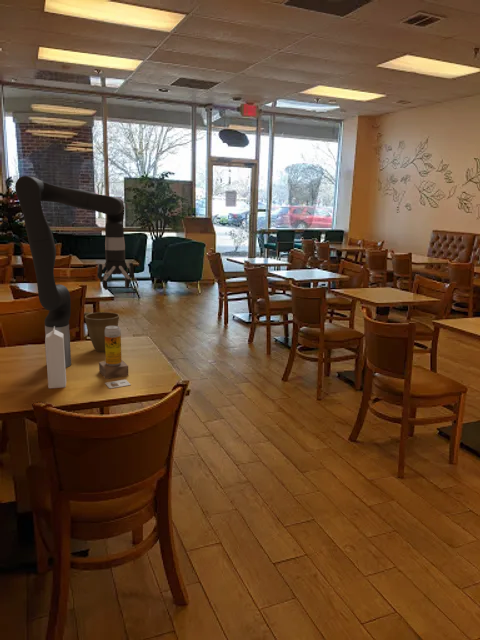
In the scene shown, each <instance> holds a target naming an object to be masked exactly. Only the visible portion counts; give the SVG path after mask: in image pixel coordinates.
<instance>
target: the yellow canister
mask: <svg viewBox="0 0 480 640" xmlns="http://www.w3.org/2000/svg"><path fill="white" fill-rule="evenodd" d="M121 331H122V329H121V327H120V326H119V325H118V326H114V325H113V326H107V327H106V328H105V352H104V354H105V361H106V363H107V365H109V366H117V365H119V364H120V363H121V362H122V360H123V359H122V336H121V335H122V332H121Z"/></svg>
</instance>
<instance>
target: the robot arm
mask: <svg viewBox="0 0 480 640" xmlns="http://www.w3.org/2000/svg"><path fill="white" fill-rule="evenodd" d="M14 187H15V188H14V189H15V193H16V197H17V200H18V202H19V205H20V209H21V211H22V215H23V219H24V226H25V230H26V234H27V242H28V247H29V250H30V254H31V258H32V262H33V267H34V272H35V277H36V278H35V279H36V285H37V294H38V300H39V303H40V305H41V306H42V308H43V309H45V310H47V311H48V314H47V315H46V317H44V318H45V319H44V332H45V336H46V334H48V333H50V332H51V331H53V329H54V326H55V330H57V331H59V332H61V333H63V334H64V350H65V368H67V367H70V366H71V365H72V354H71V353H72V352H71V351H72V350H71V336H70V334H71V333H70V319H71V311H72V309H71V307H72V306H71V305H72V302H71V294H70V290H69V289H68V288H67V286H65V285H63V284H60V283H59V284H56V280H55V274H54V269H55V264H56V258H57V249H56V243H55V238H54V235H53V232H52V229H51V227H50V225H49V223H48V221H47V218H46V217H45V215H44V213H43V212H44V211H43V206H42V202H53V203H58V204H62V205H66V206H70V207H72V208H73V207H74V208H77V209H80V210H81V209H82V210H87V211H93V212H97V213H100V214H105V215H106V223H105V228H104V229H105V232H104V233H105V242H104V245H105V246H104V247H105V249H104V251H105V262H104V263H97V272H96V274H97V275H96V277H97V279H98V280H102V289H103V290H105V291H108V278H109V277H110V276H111V275H116V274H118V275H122V276H123V277H124V288H125V289H129V287H130V285H131V284H130V282H131V281H130V280H131V279H132V278H134V277H135V271H134V263H133V262H131V261H129V262H126V243H125V232H124V231H125V229H124V228H125V227H124V219H125V204H124V203H125V202H124V201H123V199H121V198H120V196H119V197H118V196H111V195H105V194H99V193H96V192H94V191H89V190H84V189H78V188H69V187H64V186H58V185H54V184H52V183H49V182H46V181H44V180H41V179H39V178H37V177H34V176H29V175H22V176H20V177H18V179H17V180H16V181H15V186H14ZM126 268H127V269H128V273H127V271H126V270H125V269H126ZM104 269H106V270H105V272H104V274H103V270H104ZM44 347H45V348H44V349H45V351H46V343H45V342H44ZM45 361H46V363H45V364H46V365H47V359H46V358H45Z"/></svg>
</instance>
